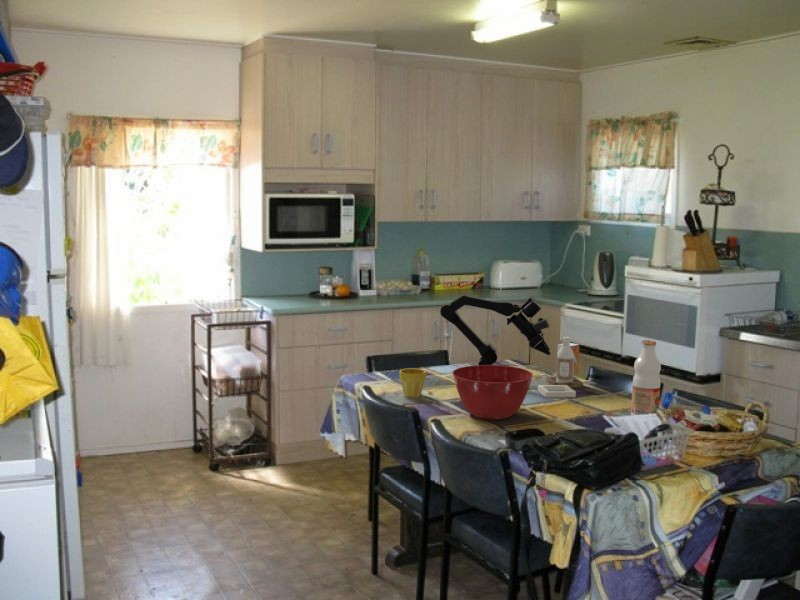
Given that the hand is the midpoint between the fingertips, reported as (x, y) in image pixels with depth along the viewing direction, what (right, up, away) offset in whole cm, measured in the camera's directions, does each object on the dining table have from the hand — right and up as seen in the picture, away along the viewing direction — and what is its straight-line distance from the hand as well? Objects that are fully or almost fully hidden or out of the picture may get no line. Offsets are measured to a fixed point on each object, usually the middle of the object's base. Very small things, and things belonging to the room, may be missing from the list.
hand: (549, 352), depth 347 cm
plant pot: (-58, -16, -24) cm, 64 cm away
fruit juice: (+25, -21, -51) cm, 60 cm away
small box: (+12, -11, +23) cm, 28 cm away
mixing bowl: (-30, -19, -50) cm, 61 cm away
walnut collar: (+6, -13, +1) cm, 15 cm away
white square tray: (0, -15, -16) cm, 22 cm away
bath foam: (+6, -14, +1) cm, 15 cm away
